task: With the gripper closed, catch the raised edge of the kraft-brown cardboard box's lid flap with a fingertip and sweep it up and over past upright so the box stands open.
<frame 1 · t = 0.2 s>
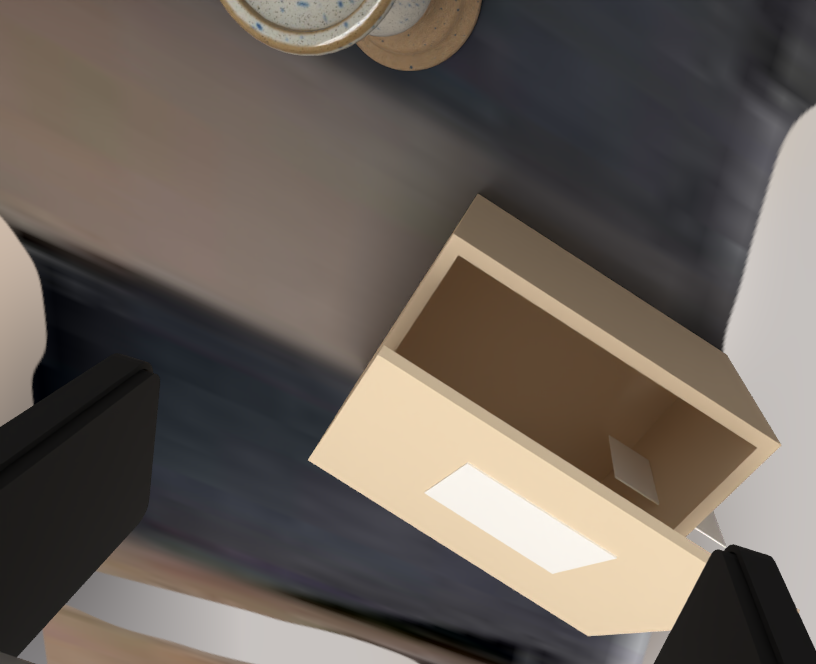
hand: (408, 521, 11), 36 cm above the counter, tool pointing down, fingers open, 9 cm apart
lid flap: (506, 521, 34), point 17 cm above the counter, hinge at 35.0°, touching carton
carton: (534, 363, 49), on the counter
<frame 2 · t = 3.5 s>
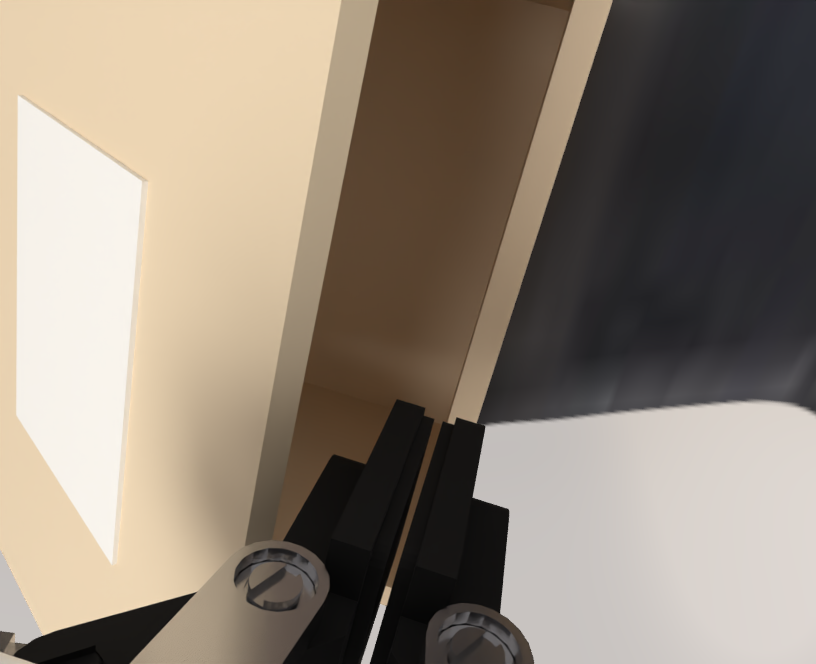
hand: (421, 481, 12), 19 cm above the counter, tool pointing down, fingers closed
lid flap: (61, 304, 15), point 17 cm above the counter, hinge at 35.1°, touching gripper
carton: (344, 195, 30), on the counter
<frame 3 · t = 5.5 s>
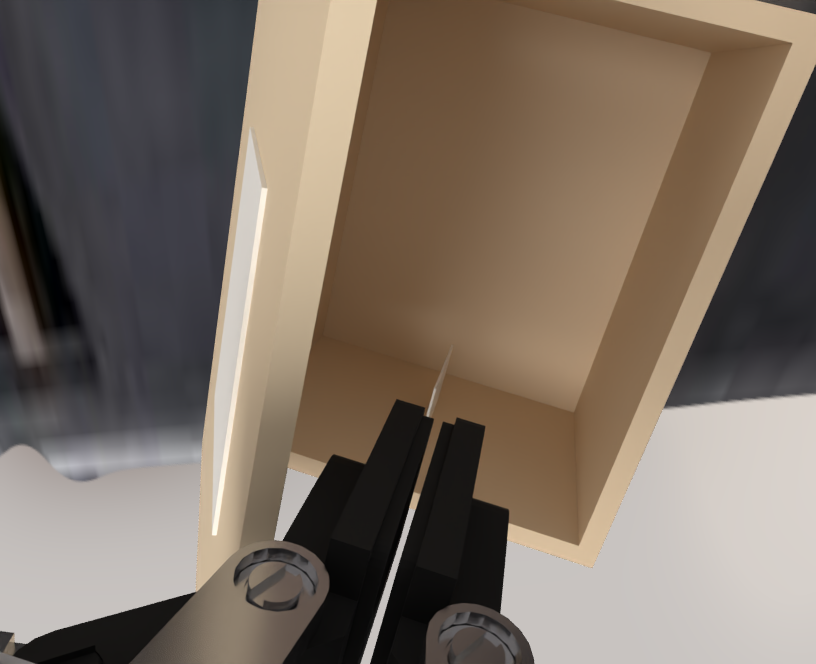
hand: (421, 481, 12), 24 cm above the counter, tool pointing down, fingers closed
lid flap: (243, 302, 17), point 19 cm above the counter, hinge at 63.7°, touching gripper
carton: (493, 209, 34), on the counter
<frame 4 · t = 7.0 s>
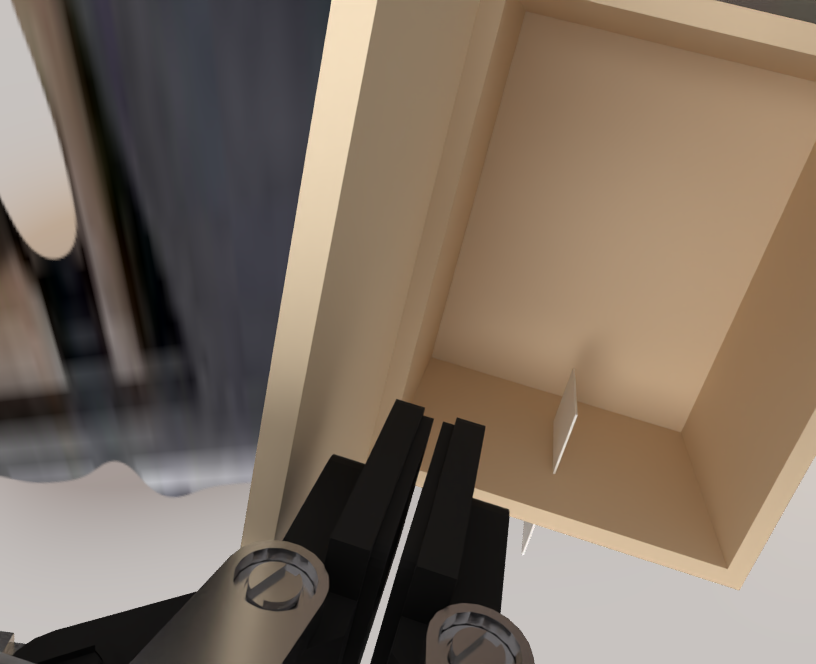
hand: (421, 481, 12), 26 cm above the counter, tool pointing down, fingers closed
lid flap: (366, 325, 18), point 20 cm above the counter, hinge at 86.7°, touching gripper
carton: (608, 236, 35), on the counter
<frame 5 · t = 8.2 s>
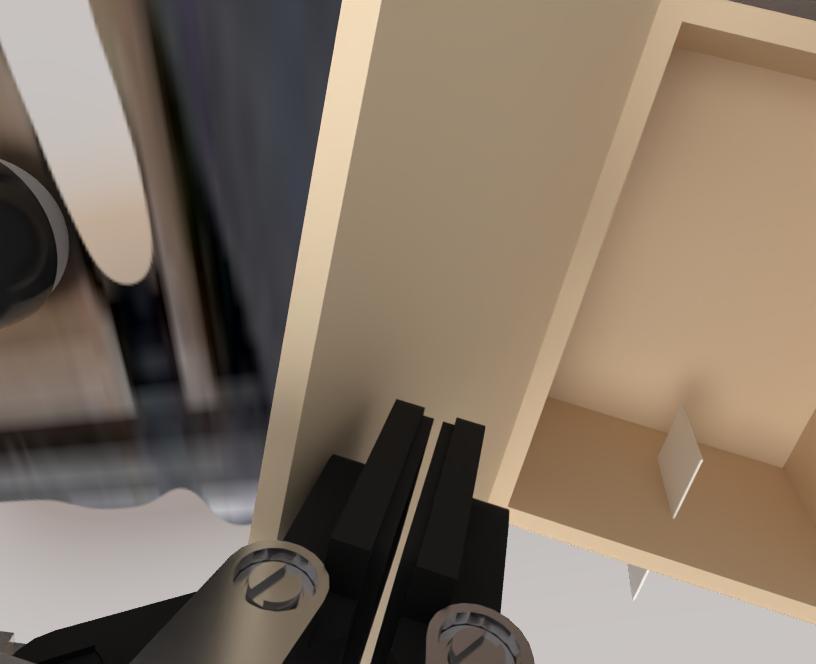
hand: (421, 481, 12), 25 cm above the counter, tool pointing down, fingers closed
dark grey domed cylinder: (25, 226, 42), on the counter
lid flap: (465, 357, 17), point 20 cm above the counter, hinge at 105.8°, touching carton, gripper
carton: (714, 267, 34), on the counter
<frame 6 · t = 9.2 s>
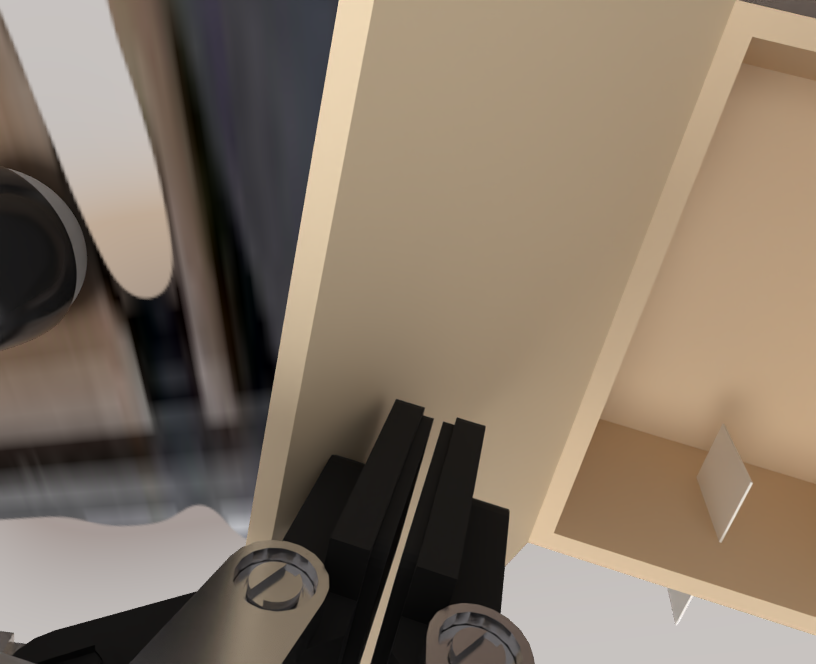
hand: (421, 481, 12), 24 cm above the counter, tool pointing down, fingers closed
dark grey domed cylinder: (41, 239, 41), on the counter
lid flap: (499, 373, 17), point 19 cm above the counter, hinge at 113.9°, touching carton, gripper
carton: (754, 281, 33), on the counter
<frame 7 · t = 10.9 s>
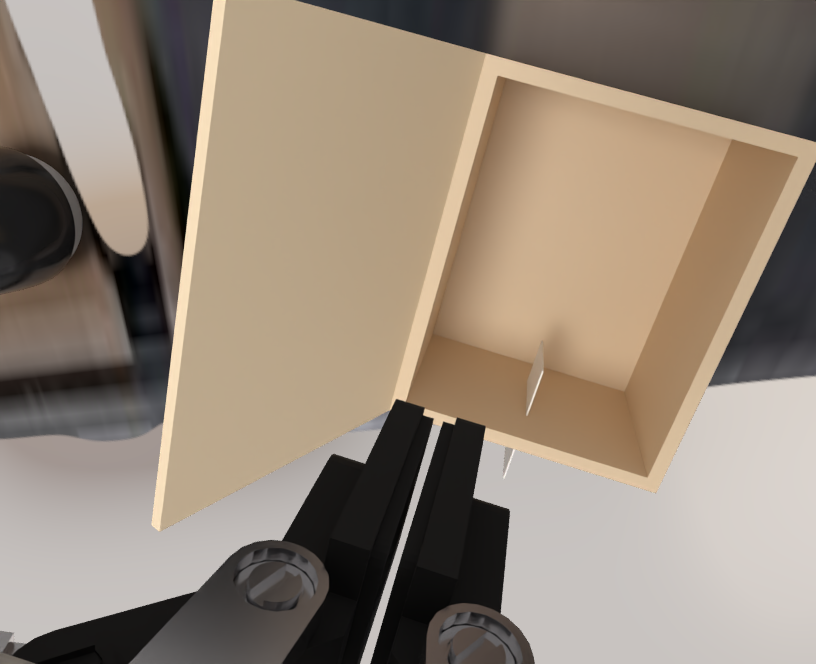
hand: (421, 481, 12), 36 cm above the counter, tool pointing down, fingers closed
dark grey domed cylinder: (46, 209, 53), on the counter
lid flap: (332, 269, 30), point 19 cm above the counter, hinge at 113.9°, touching carton
carton: (569, 240, 46), on the counter
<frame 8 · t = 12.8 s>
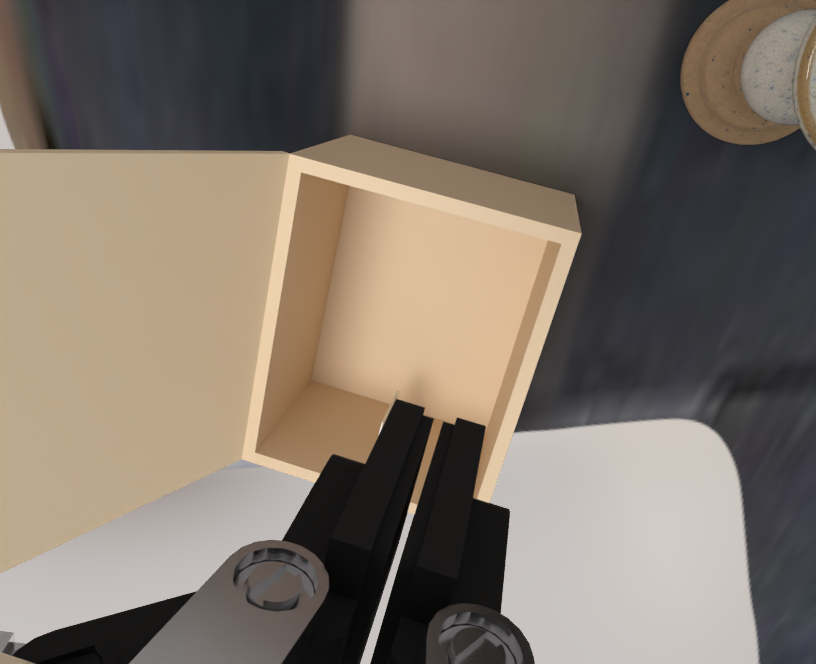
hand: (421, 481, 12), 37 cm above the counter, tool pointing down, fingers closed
lid flap: (141, 350, 34), point 19 cm above the counter, hinge at 113.9°, touching carton
carton: (426, 296, 50), on the counter
candle holder: (754, 69, 41), on the counter
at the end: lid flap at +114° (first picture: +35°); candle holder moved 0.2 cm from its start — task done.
